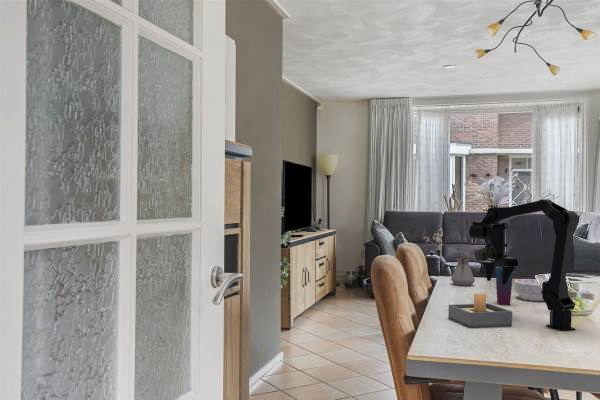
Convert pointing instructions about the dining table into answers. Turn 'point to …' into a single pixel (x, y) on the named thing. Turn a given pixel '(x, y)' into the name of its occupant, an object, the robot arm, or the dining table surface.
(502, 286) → the cup
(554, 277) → the robot arm
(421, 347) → the dining table surface
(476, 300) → the peg
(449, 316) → the socket tray
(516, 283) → the paper bowls
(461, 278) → the grey tied sack
